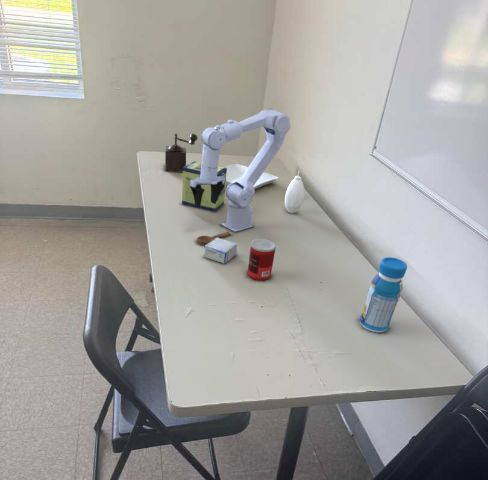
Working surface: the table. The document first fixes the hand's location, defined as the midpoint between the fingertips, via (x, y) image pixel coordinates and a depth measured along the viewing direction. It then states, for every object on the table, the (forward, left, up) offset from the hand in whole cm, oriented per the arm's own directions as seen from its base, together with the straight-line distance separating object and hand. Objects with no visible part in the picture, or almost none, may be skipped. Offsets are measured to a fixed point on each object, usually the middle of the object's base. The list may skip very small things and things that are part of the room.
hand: (205, 204), depth 160 cm
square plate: (-52, -34, -11) cm, 63 cm away
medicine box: (+4, +17, -8) cm, 19 cm away
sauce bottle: (-45, +5, -11) cm, 47 cm away
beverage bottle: (0, +74, -11) cm, 75 cm away
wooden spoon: (+2, +7, -10) cm, 13 cm away
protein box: (-17, -21, -11) cm, 29 cm away
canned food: (+7, +35, -11) cm, 37 cm away
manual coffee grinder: (-38, -63, -10) cm, 74 cm away
